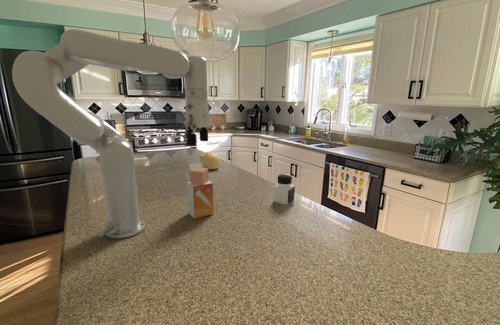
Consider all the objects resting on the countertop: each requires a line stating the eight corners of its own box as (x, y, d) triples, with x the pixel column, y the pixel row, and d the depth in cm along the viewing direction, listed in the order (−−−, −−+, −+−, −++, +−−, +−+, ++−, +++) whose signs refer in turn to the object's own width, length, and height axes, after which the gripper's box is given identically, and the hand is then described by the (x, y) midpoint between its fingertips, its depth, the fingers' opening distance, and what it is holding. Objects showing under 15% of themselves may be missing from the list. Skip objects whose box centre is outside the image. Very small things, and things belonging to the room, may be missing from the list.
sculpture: (212, 165, 174) (211, 149, 171) (223, 168, 166) (223, 152, 163) (197, 168, 166) (197, 151, 163) (209, 172, 158) (208, 154, 155)
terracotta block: (202, 185, 96) (202, 171, 94) (190, 183, 97) (190, 170, 96) (208, 180, 100) (208, 168, 99) (196, 179, 102) (196, 167, 100)
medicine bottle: (287, 205, 111) (289, 178, 108) (272, 201, 114) (273, 175, 112) (294, 200, 117) (295, 174, 114) (279, 196, 120) (281, 171, 117)
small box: (194, 219, 97) (192, 186, 94) (188, 213, 102) (186, 181, 99) (214, 214, 101) (213, 182, 98) (207, 208, 107) (206, 178, 103)
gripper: (194, 94, 82) (196, 147, 86) (216, 95, 98) (217, 140, 102) (173, 94, 84) (176, 146, 88) (198, 94, 100) (199, 139, 104)
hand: (198, 143), depth 95 cm, fingers open, 9 cm apart
